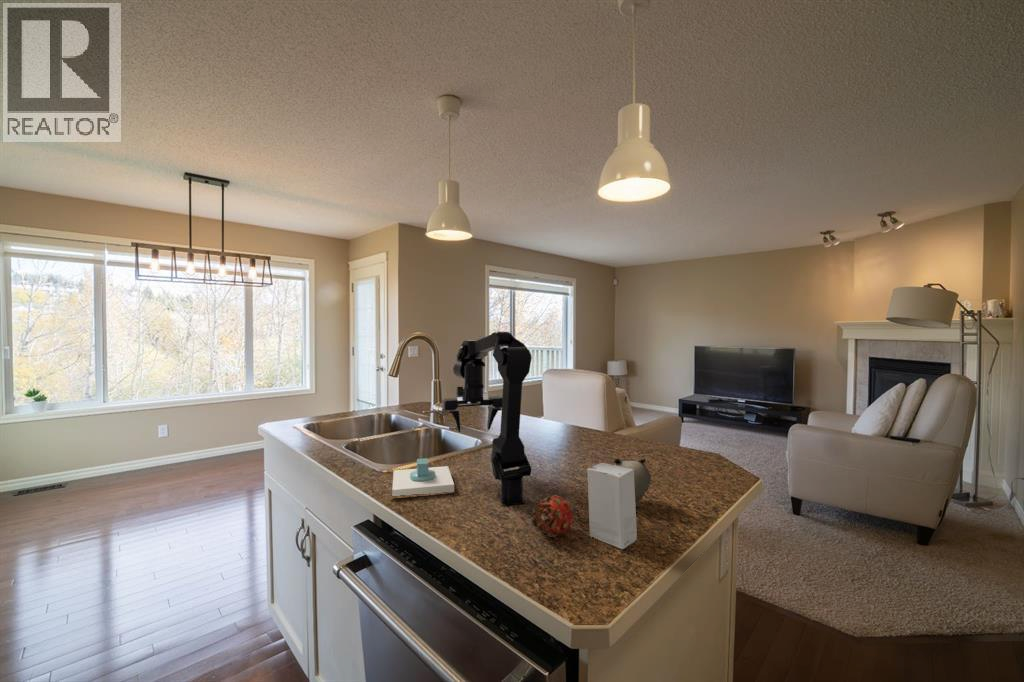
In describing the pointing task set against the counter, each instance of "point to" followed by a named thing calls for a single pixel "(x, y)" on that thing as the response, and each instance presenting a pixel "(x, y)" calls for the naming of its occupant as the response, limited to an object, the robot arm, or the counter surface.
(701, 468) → the counter surface
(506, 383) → the robot arm
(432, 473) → the cap
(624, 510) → the skincare box
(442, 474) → the white slab
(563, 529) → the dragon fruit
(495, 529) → the counter surface
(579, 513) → the counter surface
